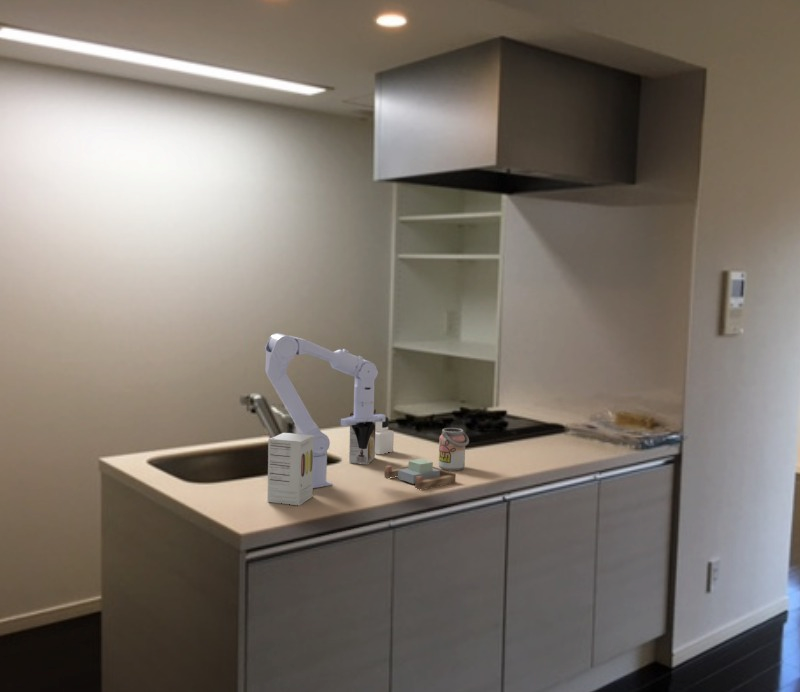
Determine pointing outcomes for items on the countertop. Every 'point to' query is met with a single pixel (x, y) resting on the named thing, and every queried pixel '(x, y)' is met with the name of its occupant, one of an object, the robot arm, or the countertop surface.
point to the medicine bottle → (383, 437)
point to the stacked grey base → (418, 471)
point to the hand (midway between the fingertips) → (362, 448)
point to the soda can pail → (452, 449)
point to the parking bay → (428, 483)
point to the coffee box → (361, 454)
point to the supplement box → (290, 468)
